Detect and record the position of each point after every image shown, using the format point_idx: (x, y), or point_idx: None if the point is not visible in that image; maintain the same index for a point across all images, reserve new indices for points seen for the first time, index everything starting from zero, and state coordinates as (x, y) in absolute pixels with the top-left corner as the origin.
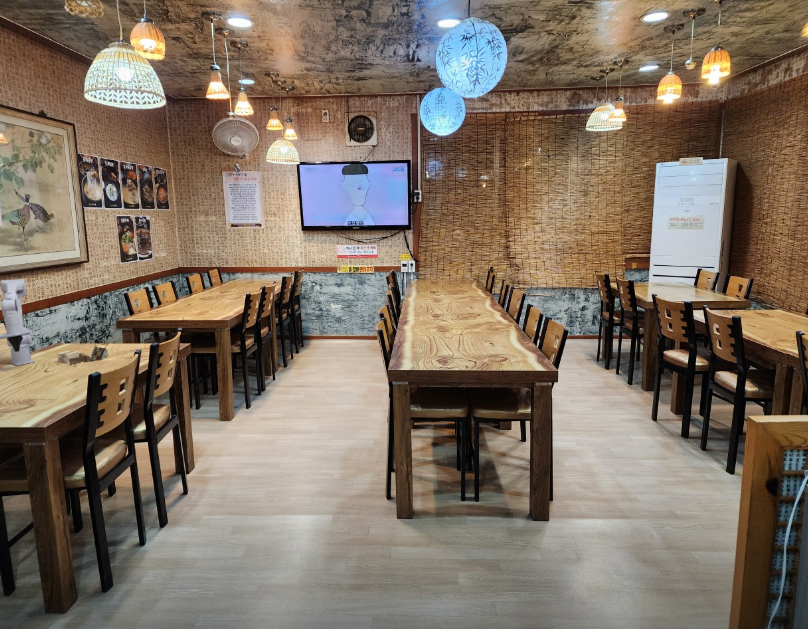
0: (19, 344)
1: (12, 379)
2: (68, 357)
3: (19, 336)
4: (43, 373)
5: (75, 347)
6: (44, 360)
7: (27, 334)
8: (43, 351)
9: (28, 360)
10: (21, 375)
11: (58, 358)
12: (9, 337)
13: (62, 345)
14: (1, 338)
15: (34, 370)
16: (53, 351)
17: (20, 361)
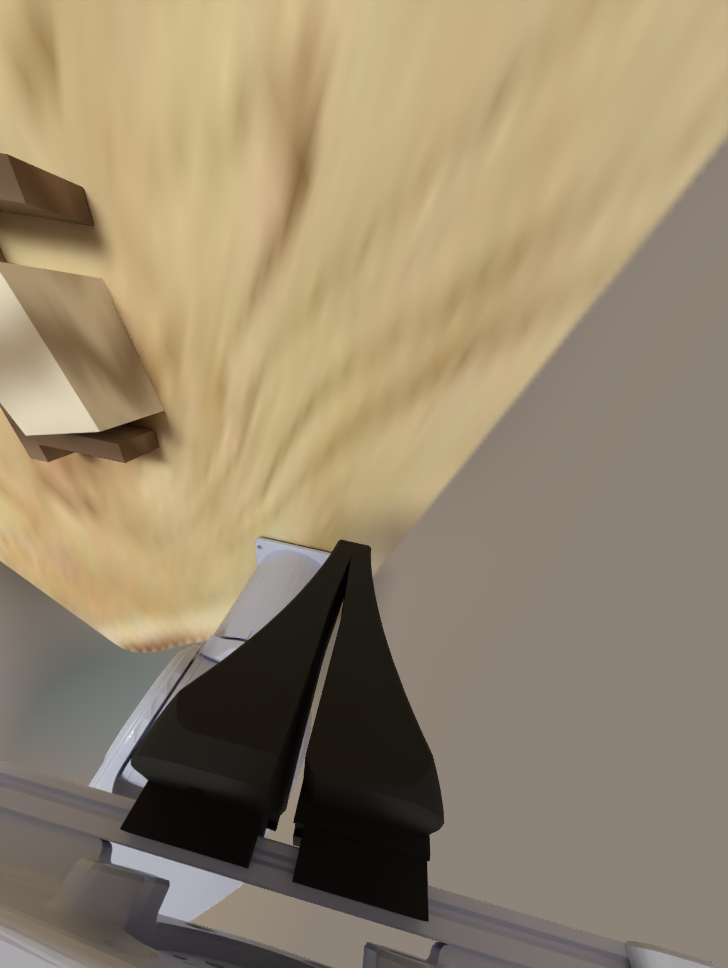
0: (303, 603)
1: (645, 154)
2: (33, 267)
3: (189, 807)
4: (356, 59)
5: (82, 588)
6: (214, 526)
7: (12, 781)
8: (187, 634)
9: (275, 557)
10: (484, 263)
11: (134, 409)
12: (411, 904)
13: (125, 639)
14: (590, 965)
15: (338, 342)
16: (158, 609)
17: (310, 568)
